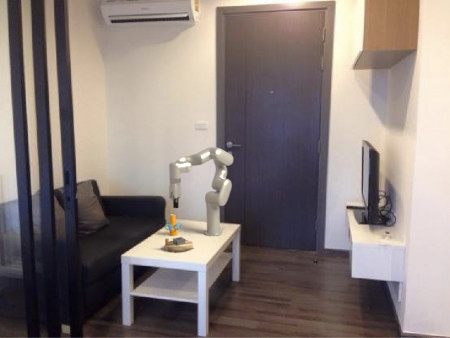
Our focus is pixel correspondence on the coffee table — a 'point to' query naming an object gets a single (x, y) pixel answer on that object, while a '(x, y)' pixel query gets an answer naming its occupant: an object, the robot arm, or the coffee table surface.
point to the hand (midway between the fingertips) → (175, 207)
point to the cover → (179, 241)
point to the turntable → (175, 248)
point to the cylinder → (173, 225)
